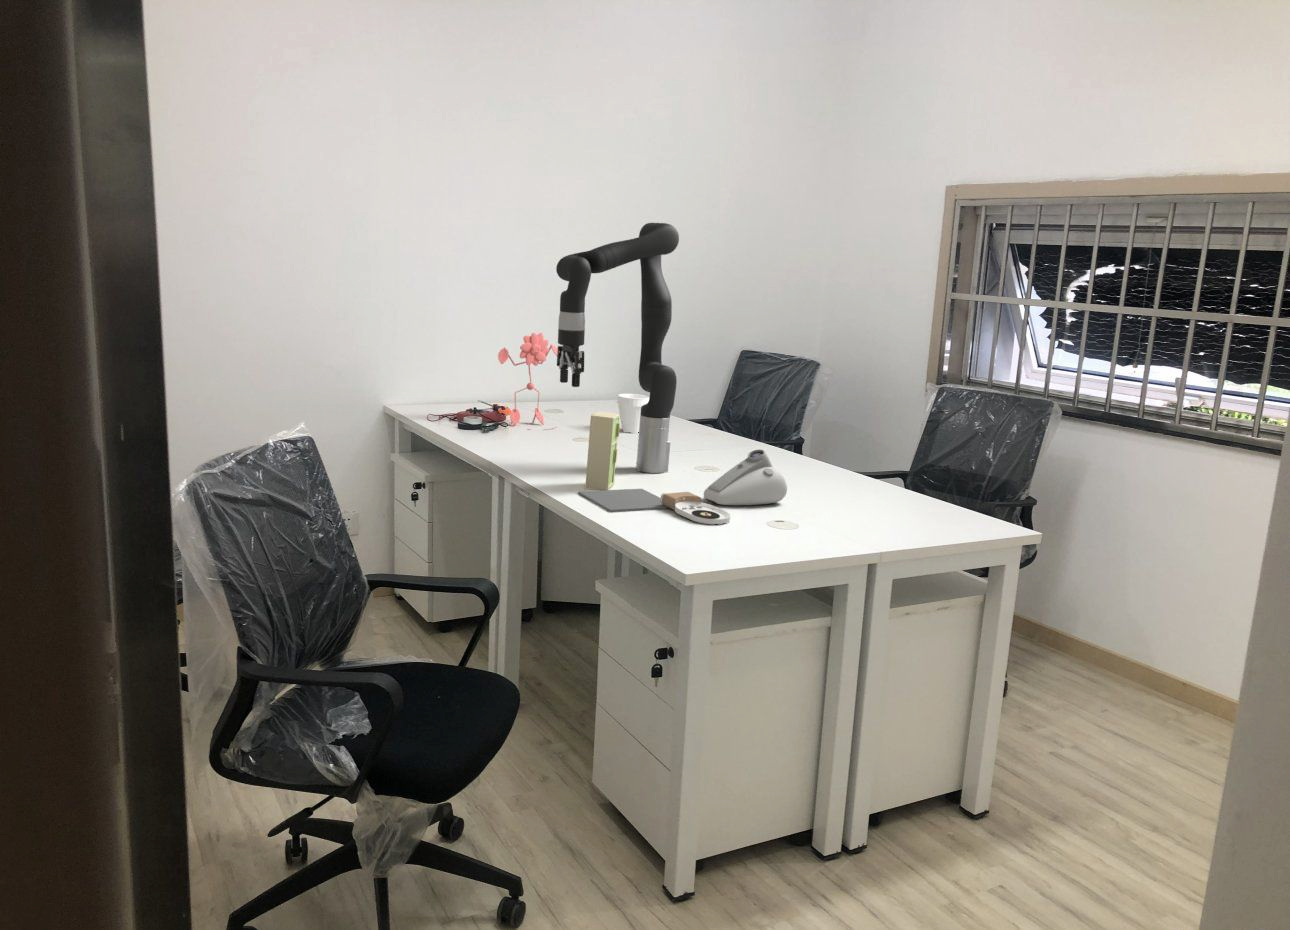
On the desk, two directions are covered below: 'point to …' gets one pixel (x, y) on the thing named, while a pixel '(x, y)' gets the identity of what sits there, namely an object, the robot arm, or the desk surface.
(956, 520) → the desk surface
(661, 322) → the robot arm
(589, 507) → the desk surface
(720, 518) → the record player
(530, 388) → the figurine
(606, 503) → the mat
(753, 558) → the desk surface
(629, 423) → the cup
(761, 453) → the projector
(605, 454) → the toy refrigerator
